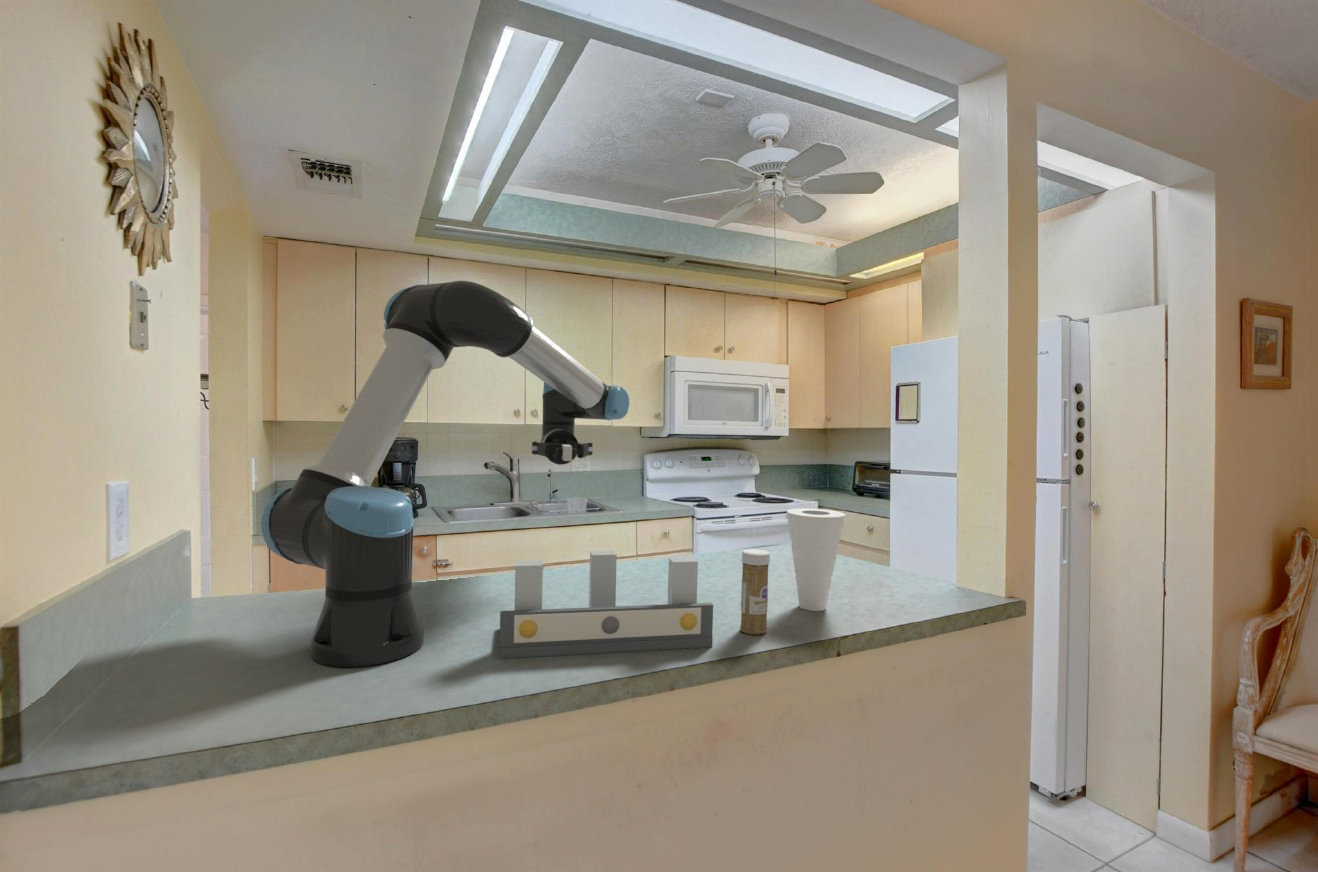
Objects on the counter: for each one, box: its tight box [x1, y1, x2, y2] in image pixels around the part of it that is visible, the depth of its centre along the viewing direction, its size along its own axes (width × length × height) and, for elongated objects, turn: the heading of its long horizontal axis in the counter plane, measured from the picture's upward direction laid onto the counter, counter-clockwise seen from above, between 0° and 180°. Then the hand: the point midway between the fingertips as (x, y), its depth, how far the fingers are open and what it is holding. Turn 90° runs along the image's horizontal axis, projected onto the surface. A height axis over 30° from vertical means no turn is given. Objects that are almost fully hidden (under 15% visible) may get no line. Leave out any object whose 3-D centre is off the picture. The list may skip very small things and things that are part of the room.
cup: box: [786, 507, 846, 612], centre depth 119 cm, size 11×11×18 cm
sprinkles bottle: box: [739, 548, 771, 636], centre depth 105 cm, size 5×5×14 cm
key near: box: [514, 560, 544, 610], centre depth 95 cm, size 4×3×11 cm
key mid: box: [588, 550, 618, 608], centre depth 104 cm, size 4×3×11 cm
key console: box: [498, 602, 714, 660], centre depth 100 cm, size 32×13×6 cm, turn 102°
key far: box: [667, 556, 699, 604], centre depth 100 cm, size 4×3×11 cm
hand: (567, 453), depth 117 cm, fingers closed
